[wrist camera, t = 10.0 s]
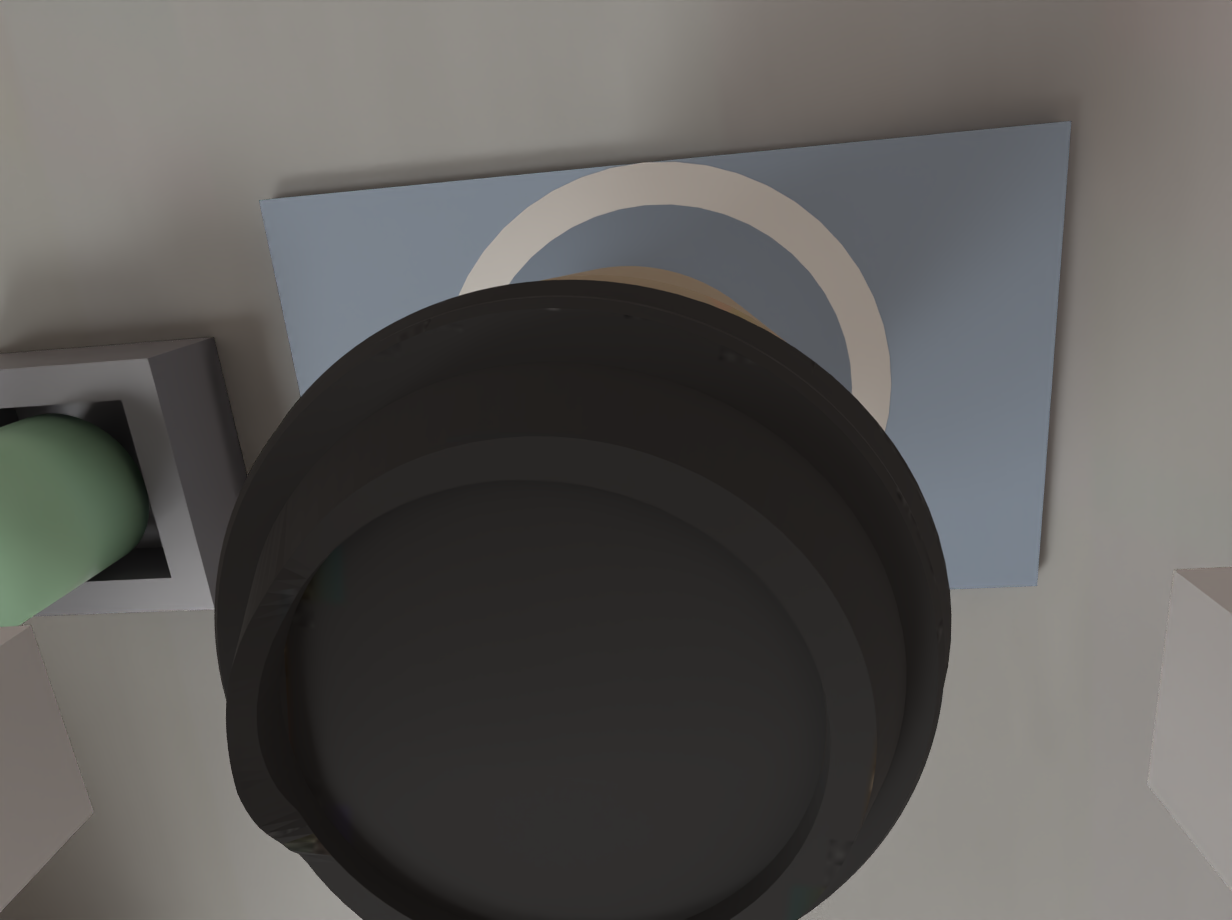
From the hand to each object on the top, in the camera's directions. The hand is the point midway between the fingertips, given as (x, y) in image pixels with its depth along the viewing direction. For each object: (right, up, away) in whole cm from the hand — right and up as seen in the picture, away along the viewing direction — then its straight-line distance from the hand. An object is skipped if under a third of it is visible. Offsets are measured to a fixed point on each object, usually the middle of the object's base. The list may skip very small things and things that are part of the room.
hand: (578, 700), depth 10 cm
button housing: (-14, +3, +15) cm, 21 cm away
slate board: (+2, +5, +13) cm, 14 cm away
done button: (-14, +2, +13) cm, 19 cm away
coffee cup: (+1, +4, +13) cm, 14 cm away
